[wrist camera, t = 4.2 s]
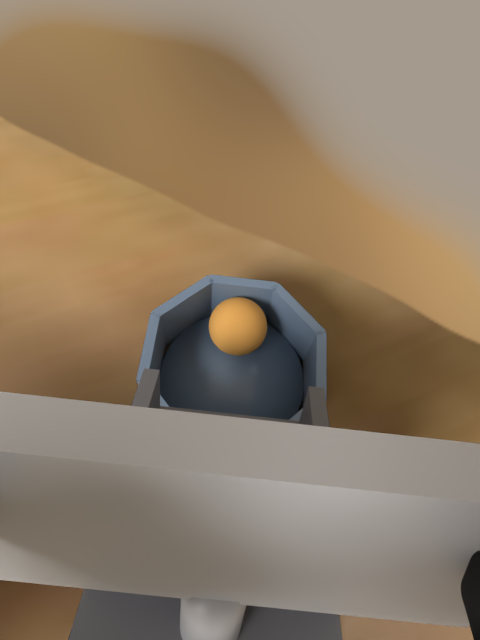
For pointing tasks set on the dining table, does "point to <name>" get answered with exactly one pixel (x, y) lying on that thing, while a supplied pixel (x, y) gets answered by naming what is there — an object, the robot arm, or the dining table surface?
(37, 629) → the dining table surface
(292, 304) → the blue bowl
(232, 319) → the ball
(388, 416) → the dining table surface
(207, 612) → the tipper
